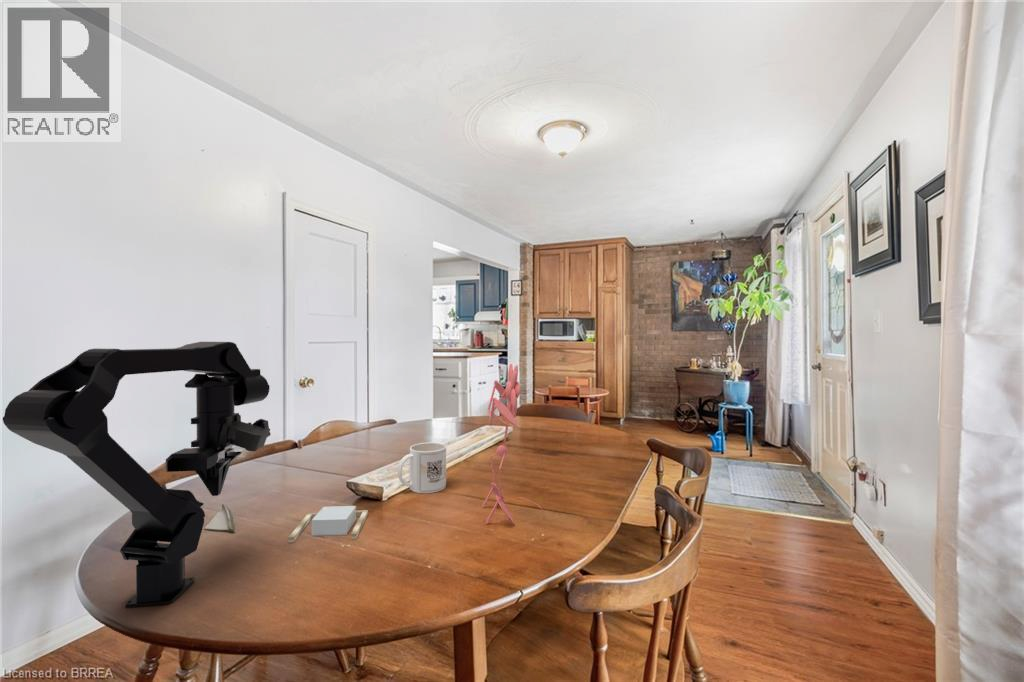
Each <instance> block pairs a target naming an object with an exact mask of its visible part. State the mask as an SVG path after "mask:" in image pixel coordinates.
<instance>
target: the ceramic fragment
mask: <svg viewBox="0 0 1024 682" xmlns="http://www.w3.org/2000/svg"><path fill="white" fill-rule="evenodd" d="M234 518H235V517H234V515H233V513H232V510H231V509H230V508H229V507H228V505H227V504H226V503H224V502H222V505H221V510H220V511H218V512H217V513H216V514H215V516H214V517H213V518H212V519H211V521H209V523H207V525H205V527H203V530H205V531H213V532H229V533H233V534H234V533H236V532H237V530H236V524H235V519H234Z"/></svg>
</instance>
